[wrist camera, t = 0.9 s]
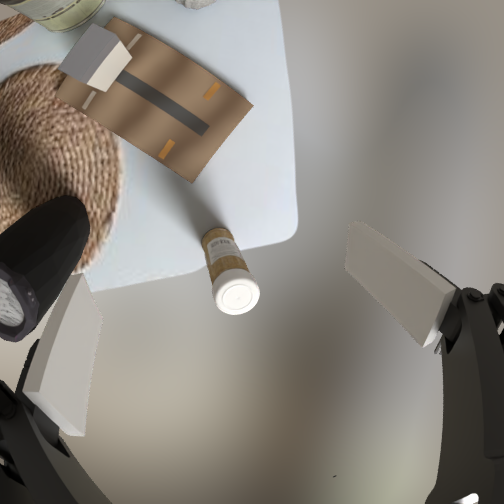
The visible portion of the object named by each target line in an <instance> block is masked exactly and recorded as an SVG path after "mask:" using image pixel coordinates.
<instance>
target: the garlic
mask: <svg viewBox="0 0 504 504" xmlns="http://www.w3.org/2000/svg"><path fill="white" fill-rule="evenodd" d="M175 1H176V2H177V3H179V4H183V5H184V6H185V7H186V8H192V9H197V10H198V9H199V8H203V7H206V6H209V5H211V4H212V3H215V1H216V0H175Z"/></svg>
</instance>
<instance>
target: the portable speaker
mask: <svg viewBox="0 0 504 504" xmlns="http://www.w3.org/2000/svg"><path fill="white" fill-rule="evenodd" d="M89 234H90V224H89V219H88V215H87V212H86V208H85V205H83V204H82V203H81V202H80V201H79V200H78V199H77V198H76V197H71V196H66V195H65V196H62V197H57V198H55V199H52V200H50V201H48V202H46V203H44V204H42V205H40V206H39V205H38V206H36V208H34V209H32V210H30V211H29V212H28V213H26V214H25V215H24V216H22V217H21V218H20V219H19V220H17V221H16V222H15V223H13V224H12V225H11V226H10V227H9V228H7V229H6V230H5V231H4V232H3V233H1V234H0V337H1V338H2V339H4V340H6V341H11V342H18V341H20V340H22V339H23V338H24V337H25V336H26V335H28V334H29V333H30V332H32V331H33V330H34V329H35V328H36V326H37V325H38V323H39V322H40V321H41V319H42V318H43V316H44V315H45V314H46V312H47V311H48V309H49V308H50V307H51V305H52V304H53V303H54V301H55V300H56V299H57V297H58V296H59V294H60V292H61V291H62V289H63V287H64V285H65V283H66V282H67V280H68V278H69V276H70V275H71V273H72V271H73V270H74V268H75V266H76V265H77V263H78V261H79V260H80V258H81V255H82V253H83V250H84V247H85V245H86V242H87V239H88V237H89Z"/></svg>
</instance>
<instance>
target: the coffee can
mask: <svg viewBox="0 0 504 504" xmlns="http://www.w3.org/2000/svg"><path fill="white" fill-rule="evenodd" d="M105 1H106V0H0V3H1V4H4V5H7V6H9V7H11V8H13V9H14V10H17V11H18V12H20V13H22V14H23V15H25V16H27V17H29V18H30V19H32V20H34V21H35V22H37V23H39V24H40V25H42V26H44V27H45V28H46V29H47V30H49V31H51V32H56V33H60V32H66V31H70V30H72V29H74V28H76V27H79V26H80V25H82V24H84V23H85V22H86V21H88V20H89V19H90V18H92V17H93V16H94V15H95V14H96V13H97V12H98V10H99V9H100V8H101V7H102V5H103V4H104V2H105Z"/></svg>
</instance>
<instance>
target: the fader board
mask: <svg viewBox="0 0 504 504" xmlns="http://www.w3.org/2000/svg"><path fill="white" fill-rule="evenodd" d="M104 29H106V30H108V31H110V32H112V33H114V34H116V35H117V37H118V38H119V40H120V41H121V42H122V44H123V45H124V47H125V48H126V49H127V51H128V52H129V54H130V55H131V56H132V59H131V60H130V61H129V62H128V64H127V65H126V66H125V67H124V69H123V70H122V71H121V72H120V74H119V75H118V76H117V78H116V79H115V80H114V82H113V83H112V84H111V86H110V87H109V88H108V90H107V91H106V92H104V91H102V90H99V89H97V88H95V87H92V86H90V85H87V84H85V83H83V82H80V81H78V80H76V79H75V78H73V77H71V76H69V75H67V77H66V78H65V80H64V81H63V83H62V84H61V86H60V88H59V89H58V91H57V92H56V94H55V97H57V98H59V99H60V100H62V101H64V102H65V103H67V104H69V105H70V106H72V107H73V108H75V109H77V110H78V111H80V112H82V113H83V114H85V115H86V116H88V117H90V118H91V119H93V120H95V121H96V122H98V123H99V124H101V125H103V126H104V127H106V128H107V129H109V130H110V131H112V132H114V133H115V134H117V135H118V136H120V137H122V138H123V139H125V140H126V141H128V142H129V143H131V144H132V145H134V146H136V147H137V148H139V149H140V150H142V151H143V152H145V153H146V154H148V155H149V156H151V157H153V158H154V159H156V160H157V161H159V162H160V163H162V164H163V165H165V166H166V167H168V168H169V169H171V170H172V171H174V172H175V173H177V174H178V175H180V176H181V177H183V178H184V179H186V180H187V181H189V182H190V183H193V182H194V180H195V179H196V178H197V176H198V175H199V174H200V172H201V171H202V170H203V168H204V167H205V166H206V164H207V163H208V162H209V160H210V159H211V158H212V156H213V155H214V154H215V152H216V151H217V150H218V149H219V147H220V146H221V145H222V143H223V142H224V141H225V140H226V138H227V137H228V136H229V135H230V133H231V132H232V131H233V130H234V129H235V127H236V126H237V125H238V124H239V122H240V121H241V120H242V119H243V118H244V116H245V115H246V114H247V113H248V112H249V111H250V109H251V108H252V107H253V106H254V105H252V104H251V103H250V102H249V101H247V100H246V99H245V98H243V97H242V96H241V95H240V94H238V93H237V92H236V91H234V90H233V89H232V88H230V87H229V86H228V85H226V84H225V83H224V82H222V81H221V80H219V79H218V78H217V77H215V76H214V75H212V74H211V73H210V72H208V71H207V70H205V69H204V68H202V67H201V66H199V65H198V64H196V63H195V62H193V61H192V60H190V59H189V58H187V57H186V56H184V55H182V54H181V53H179V52H178V51H176V50H174V49H173V48H171V47H170V46H168V45H166V44H164V43H163V42H161V41H159V40H158V39H156V38H154V37H152V36H151V35H149V34H147V33H145V32H143V31H141V30H140V29H138V28H136V27H134V26H132V25H130V24H128V23H126V22H124V21H122V20H120V19H118V18H116V17H113V18H112V19H111V20H110V22H109V23H108V24H107V25H106V26H105V27H104Z"/></svg>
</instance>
